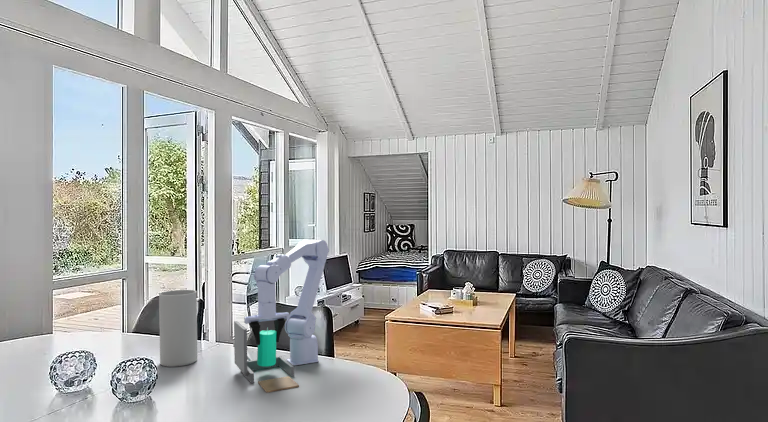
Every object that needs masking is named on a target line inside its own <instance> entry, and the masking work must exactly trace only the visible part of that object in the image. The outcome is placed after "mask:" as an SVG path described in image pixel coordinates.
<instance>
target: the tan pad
mask: <svg viewBox="0 0 768 422" xmlns="http://www.w3.org/2000/svg"><path fill="white" fill-rule="evenodd" d="M257 383H258V385H259V386H261V387H260V388H262V389H263V390H264V392H266V393H267V394H268V393H272V392H278V391H279V392H280V391H283V390H288V389H289V390H290V389H294V388H300V385H299V384H298V383H297V382H296V381H295V380H294V379H293V378H291V376H290V375H289V376H288V375H287V376H282V377H276V378H270V379H265V380H264V379H263V380H259V381H257Z"/></svg>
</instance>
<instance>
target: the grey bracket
mask: <svg viewBox="0 0 768 422" xmlns="http://www.w3.org/2000/svg"><path fill="white" fill-rule="evenodd" d="M233 331H234V332H233V335H234V337H233V342H232V343H233V345H232V346H233V349H234V364H235V365H236V367H237V368H238V370H240V372H241V373H242V374H243V376H244V377H245V378H246V379H247V380H248V381H249V383H251V384H253V383H255V373H254V371H256V370H263V369H268V368H273V367H275V368H276V367H280V368H281V369H282V370H283V371H284V372H285V373H287V374H288V375H289V377H294V376H295V366H293V365H292V364H291V363H289V362H288V361H287V359H286V358H284V357H283V356H281V355H280V356H276V364H275V365H273V366H267V367H265V366H259V365H258V364H257V359H255V360H254V359H251V358H250V357H249V356H248V329H247V328H246V327H245V326H244V325H243V324H241V323H240V322H239V321H238V320H234V321H233Z"/></svg>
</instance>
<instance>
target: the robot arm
mask: <svg viewBox="0 0 768 422" xmlns="http://www.w3.org/2000/svg"><path fill="white" fill-rule="evenodd" d="M329 252H330V249H329V246H328V244H327V241H326V240H324V239H317V240H316V239H302V240H301V241H299V242H297V245H296V246H294V247H293V248H292V249H290V250H289V251H288V252H287V253H286V254H282V253H277V254H276V255H275V257H273V259H271V260H268V261H267V262H266V263H265V264H261V265H258V266H257V267H256V268H255V270H254V273H253V279H254V281H255V283H256V284H255V285H256V288H257V313H258V314H253V315H248V316H244V319H243V320H244V321H243V322H244V324H245V325H247V324H248V325H249V327H250V328H251V330H252V333H253V336H254V338H255V339H254V340H255V344H256V346H258V345H260V331H261V325H260V323H261V322H262V323H263V322H270V321H273V323H274V325H273V326H274V330H275V331H276V332H277V339H276V343H280V342H279V341H280V337H281V333H282V330H283V328H284V330H285V333H286V334H287V336H288V337H289V358H287V359H286V361H288V362H289V363H290V364H291V365H293V366H294V367H295V366H300V365H305V364H313V363H318V362H320V361H319V353H318V352H319V346H318V345H319V344H318V343H319V342H318V339H317V336H316V335H315V334H314V333H315V331H316V321H317V317H316V316H315V314H314V313H313V309H314V304H315V301H316V298H317V294H318V290H319V287H320V283H321V279H322V276H323V274H324V269H325V265H326V261H327V258H328V255H329ZM301 258H302V260H303V261H304V263H305V264H307V265H308V270H307V273H306V277H305V280H304V283H303V286H302V290H301V294H300V296H299V300H298V302H297V303H298V304H297V307H296V308H294V309H293V310H292V311H290V312H288V311H286V312H277V306H276V305H277V299H276V297H277V295H276V288H277V285H276V283H277V282H278V281H279V279H280V277H281V275H282V274H283V273H285V272H286V271H287V270H289V269H290V268H291V266H292V263H293V262H295V261H297V260H299V259H301Z"/></svg>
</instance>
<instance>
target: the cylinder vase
mask: <svg viewBox="0 0 768 422" xmlns="http://www.w3.org/2000/svg"><path fill="white" fill-rule="evenodd" d="M197 293H198V292H197V290H194V289H177V290H175V289H174V290H168V291H167V290H166V291H162V292H159V294H158V310H159V311H158V312H159V315H158V317H159V318H158V319H159V321H158V322H159V325H158V326H159V363H160V365H162V366H163V367H169V368H171V367H175V368H176V367H184V366H188V365H191V364H194V363H195V362H196V361H197V360H198V311H197V310H198V308H197V307H198V303H197V300H198V299H197V298H198V296H197V295H198V294H197Z"/></svg>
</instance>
